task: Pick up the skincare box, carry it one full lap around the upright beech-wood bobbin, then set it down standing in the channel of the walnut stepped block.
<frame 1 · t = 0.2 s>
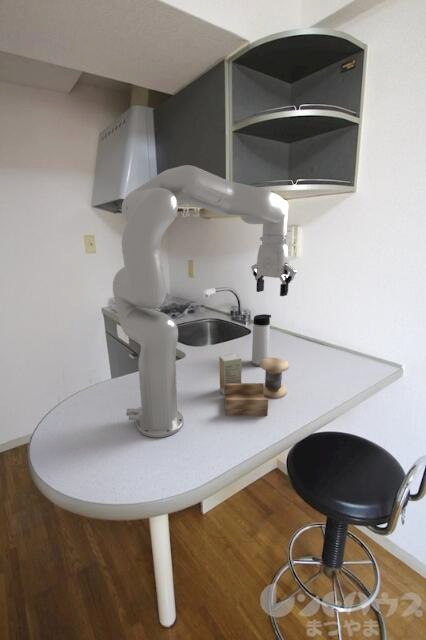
hand: (271, 293, 106), 31 cm above the countertop, tool pointing down, fingers open, 9 cm apart
travel mug: (260, 364, 125), on the countertop
bobbin: (272, 391, 104), on the countertop
walnut stepped block: (244, 406, 95), on the countertop
skincare box: (230, 391, 104), on the countertop
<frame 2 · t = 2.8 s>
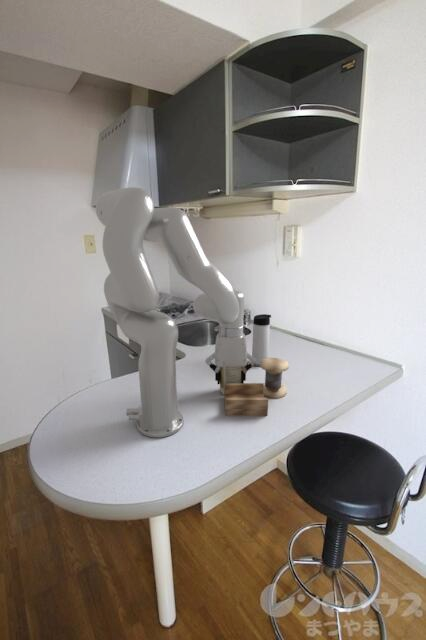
hand: (230, 382, 103), 3 cm above the countertop, tool pointing down, fingers closed on skincare box, 7 cm apart
skincare box: (230, 391, 104), on the countertop, touching gripper
everything else where it was.
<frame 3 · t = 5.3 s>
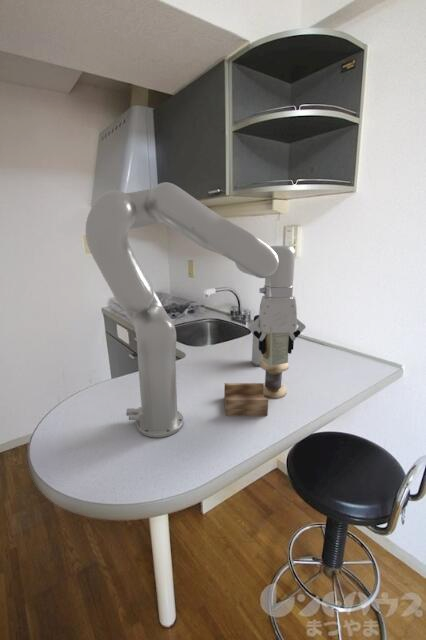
hand: (275, 351, 92), 17 cm above the countertop, tool pointing down, fingers closed on skincare box, 7 cm apart
skincare box: (274, 362, 93), point 14 cm above the countertop, touching gripper
everything else where it was.
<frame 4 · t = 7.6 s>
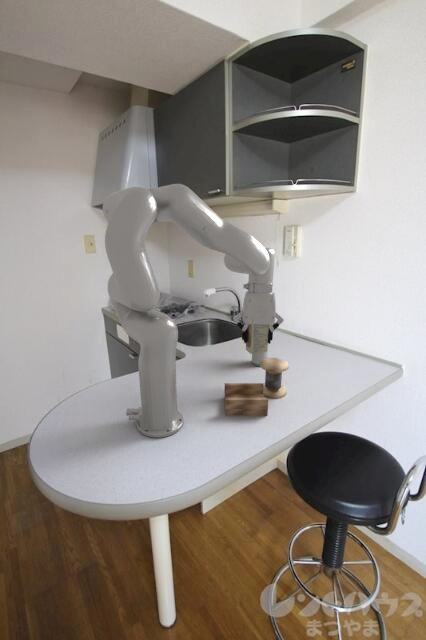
hand: (256, 341, 103), 16 cm above the countertop, tool pointing down, fingers closed on skincare box, 7 cm apart
skincare box: (256, 351, 104), point 12 cm above the countertop, touching gripper
everything else where it was.
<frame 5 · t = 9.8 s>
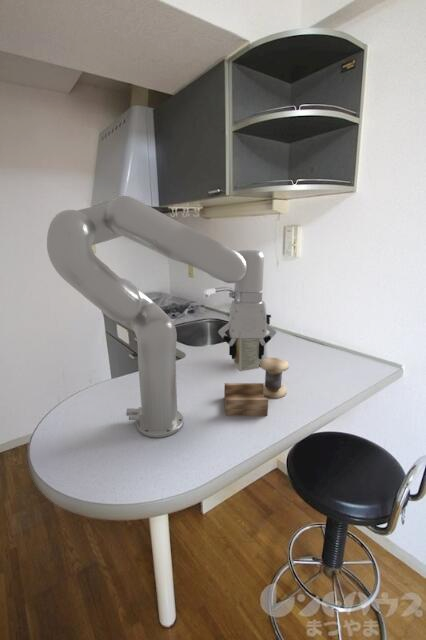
hand: (246, 356, 91), 16 cm above the countertop, tool pointing down, fingers closed on skincare box, 7 cm apart
skincare box: (245, 367, 92), point 13 cm above the countertop, touching gripper
everything else where it was.
when the fingers open (7 cm above the countertop, at t = 11.9 s): skincare box drops 1 cm, resting on walnut stepped block.
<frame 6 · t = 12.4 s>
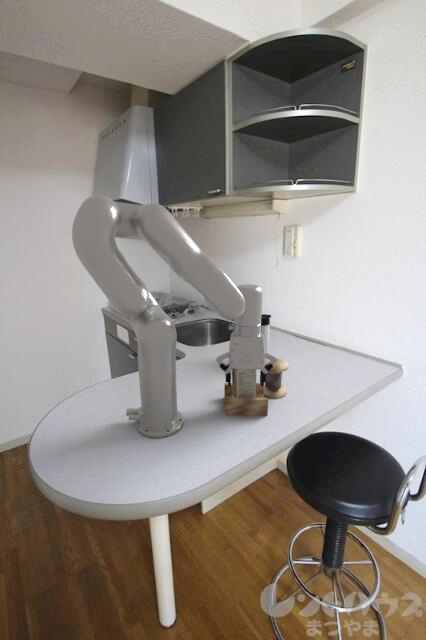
hand: (245, 384, 93), 7 cm above the countertop, tool pointing down, fingers open, 9 cm apart
skincare box: (243, 400, 95), point 2 cm above the countertop, touching walnut stepped block
everything else where it was.
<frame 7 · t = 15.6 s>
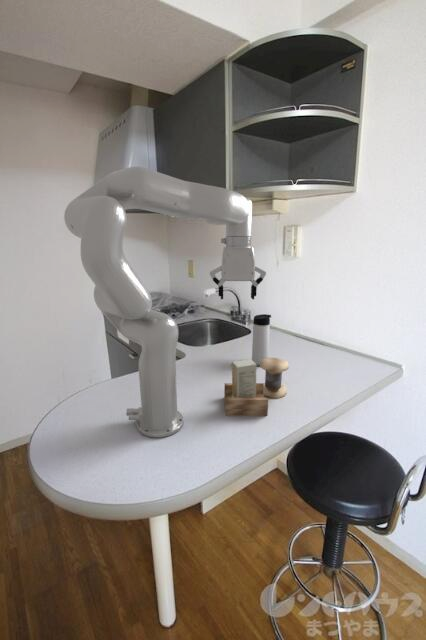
hand: (237, 298, 99), 30 cm above the countertop, tool pointing down, fingers open, 9 cm apart
nothing on the countertop moved.
at the end: skincare box inside the target area on the walnut stepped block (0.5 cm from its centre), point 1.8 cm above the walnut stepped block's base; skincare box tilted 0°; the gripper is holding nothing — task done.
